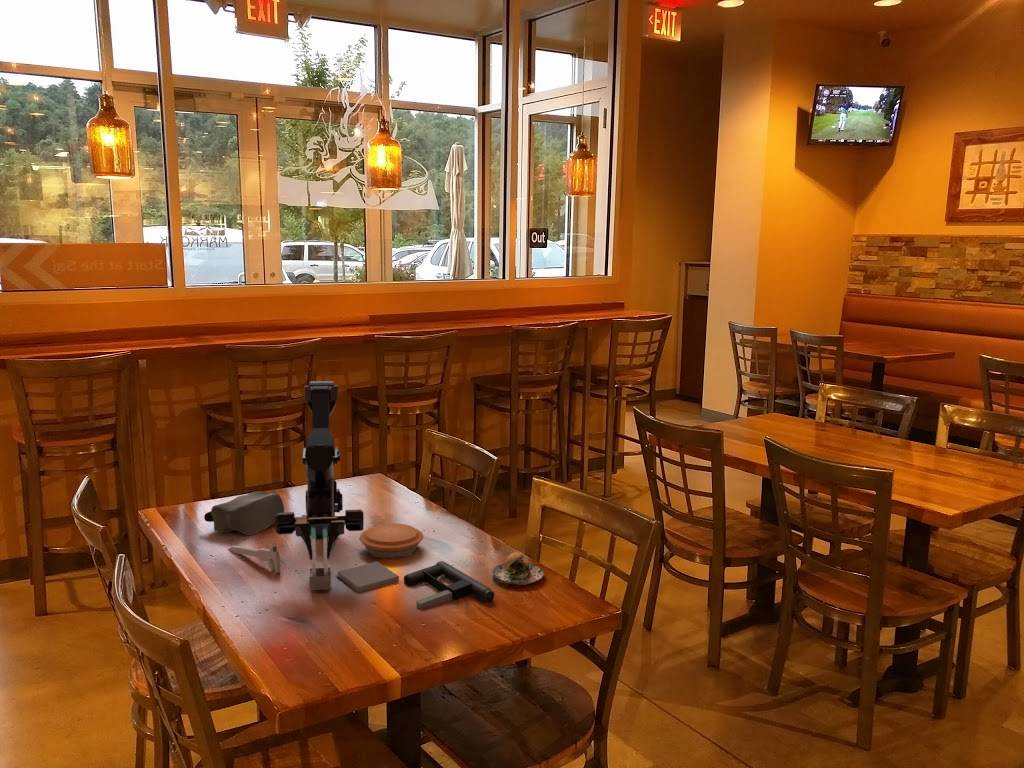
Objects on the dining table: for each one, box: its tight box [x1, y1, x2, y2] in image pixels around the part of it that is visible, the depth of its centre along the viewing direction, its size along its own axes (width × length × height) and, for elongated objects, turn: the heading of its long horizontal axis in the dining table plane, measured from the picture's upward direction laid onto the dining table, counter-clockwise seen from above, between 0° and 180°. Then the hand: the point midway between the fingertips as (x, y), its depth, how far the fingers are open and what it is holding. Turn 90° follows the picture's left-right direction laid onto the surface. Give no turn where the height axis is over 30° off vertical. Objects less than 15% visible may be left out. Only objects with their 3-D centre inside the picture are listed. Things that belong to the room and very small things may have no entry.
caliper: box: [227, 545, 282, 574], centre depth 190 cm, size 21×1×6 cm, turn 49°
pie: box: [359, 523, 424, 559], centre depth 199 cm, size 16×16×5 cm
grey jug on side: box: [203, 490, 285, 536], centre depth 212 cm, size 20×12×8 cm, turn 153°
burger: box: [491, 545, 546, 589], centre depth 184 cm, size 12×12×8 cm
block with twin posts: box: [308, 525, 332, 591], centre depth 175 cm, size 4×4×13 cm
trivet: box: [336, 561, 400, 593], centre depth 182 cm, size 10×10×1 cm
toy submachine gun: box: [403, 560, 496, 610], centre depth 176 cm, size 3×20×16 cm
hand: (319, 558), depth 173 cm, fingers closed on block with twin posts, 3 cm apart
